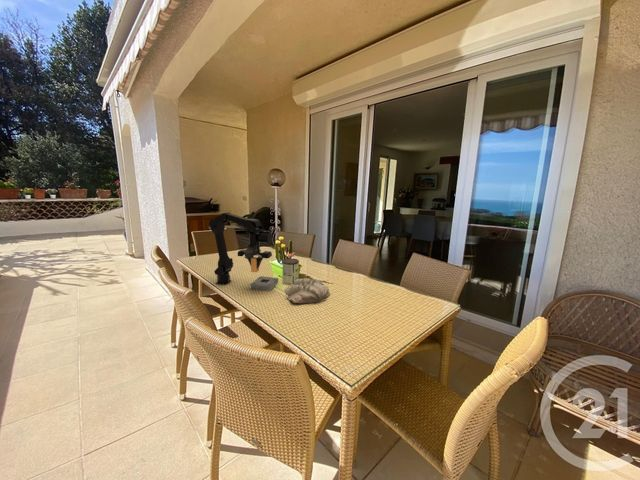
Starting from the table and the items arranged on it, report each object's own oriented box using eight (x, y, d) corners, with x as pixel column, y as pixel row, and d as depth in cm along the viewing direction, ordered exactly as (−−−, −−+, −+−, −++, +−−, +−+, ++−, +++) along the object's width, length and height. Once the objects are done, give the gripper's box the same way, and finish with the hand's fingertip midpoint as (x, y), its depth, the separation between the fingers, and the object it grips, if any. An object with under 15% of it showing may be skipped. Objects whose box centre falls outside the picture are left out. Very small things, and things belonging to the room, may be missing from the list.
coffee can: (284, 278, 167) (284, 257, 164) (299, 279, 166) (300, 258, 163) (280, 284, 157) (280, 262, 154) (296, 285, 156) (297, 263, 153)
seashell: (303, 307, 123) (295, 277, 126) (283, 311, 136) (276, 284, 139) (342, 293, 142) (334, 267, 145) (321, 298, 155) (314, 274, 158)
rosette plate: (250, 288, 148) (250, 283, 147) (260, 280, 161) (260, 275, 161) (270, 291, 146) (270, 285, 145) (278, 282, 159) (278, 277, 159)
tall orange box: (251, 271, 146) (250, 258, 144) (253, 270, 149) (253, 257, 147) (256, 272, 145) (256, 258, 144) (258, 270, 148) (258, 257, 147)
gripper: (231, 243, 138) (232, 270, 141) (263, 245, 134) (264, 274, 137) (242, 239, 148) (242, 265, 152) (272, 241, 145) (272, 268, 148)
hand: (255, 268), depth 147 cm, fingers closed on tall orange box, 3 cm apart
